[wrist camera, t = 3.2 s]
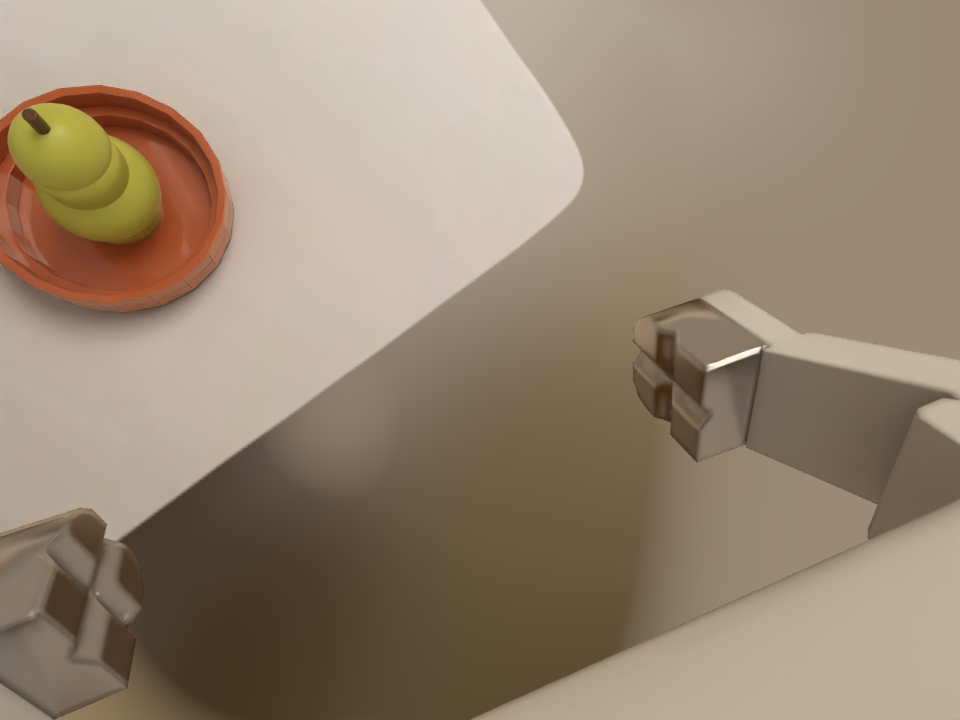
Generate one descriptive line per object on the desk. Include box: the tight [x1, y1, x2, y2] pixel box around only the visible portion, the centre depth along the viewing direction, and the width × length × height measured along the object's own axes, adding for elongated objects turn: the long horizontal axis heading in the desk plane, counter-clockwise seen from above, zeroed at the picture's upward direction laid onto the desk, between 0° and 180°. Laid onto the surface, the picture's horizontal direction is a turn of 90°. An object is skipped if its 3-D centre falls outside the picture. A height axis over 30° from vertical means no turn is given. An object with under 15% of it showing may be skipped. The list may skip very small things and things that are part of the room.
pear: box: [8, 103, 161, 245], centre depth 30 cm, size 6×6×11 cm
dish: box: [0, 85, 234, 312], centre depth 34 cm, size 13×13×3 cm
